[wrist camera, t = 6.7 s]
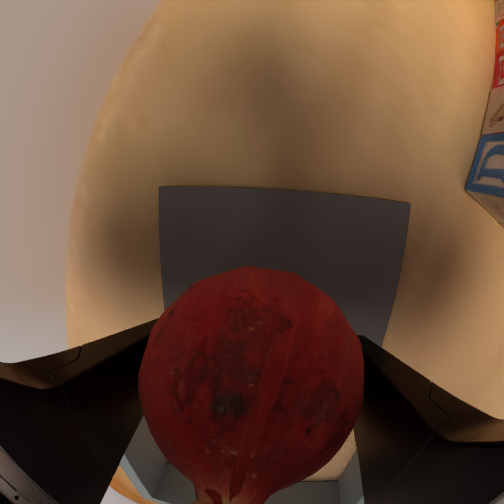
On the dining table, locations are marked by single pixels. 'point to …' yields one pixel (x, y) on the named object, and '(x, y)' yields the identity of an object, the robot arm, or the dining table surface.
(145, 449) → the u-shaped frame
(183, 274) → the mat
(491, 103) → the stack of blocks
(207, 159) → the dining table surface
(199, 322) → the onion
